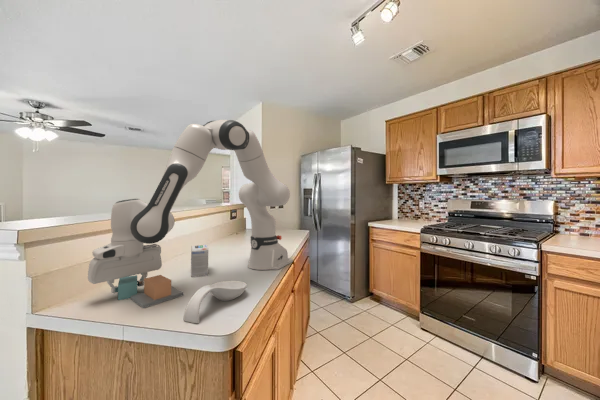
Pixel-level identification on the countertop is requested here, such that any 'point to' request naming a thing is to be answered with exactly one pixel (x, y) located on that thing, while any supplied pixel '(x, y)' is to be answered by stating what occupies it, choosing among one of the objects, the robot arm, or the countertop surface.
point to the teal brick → (127, 287)
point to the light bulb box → (199, 260)
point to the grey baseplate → (147, 301)
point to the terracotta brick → (157, 287)
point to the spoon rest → (219, 290)
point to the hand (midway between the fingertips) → (128, 289)
